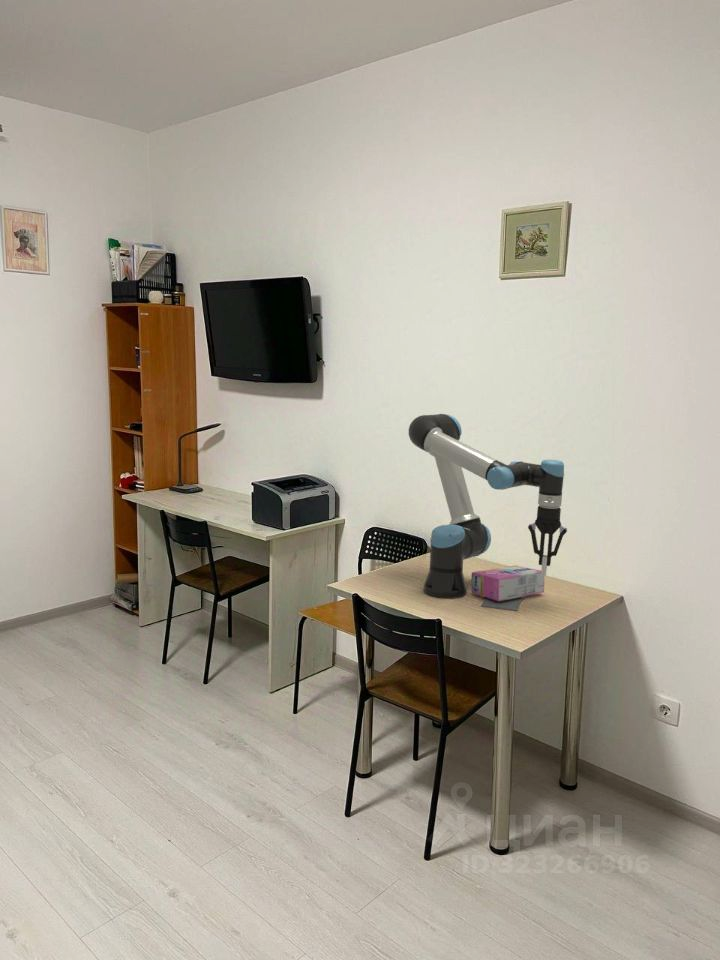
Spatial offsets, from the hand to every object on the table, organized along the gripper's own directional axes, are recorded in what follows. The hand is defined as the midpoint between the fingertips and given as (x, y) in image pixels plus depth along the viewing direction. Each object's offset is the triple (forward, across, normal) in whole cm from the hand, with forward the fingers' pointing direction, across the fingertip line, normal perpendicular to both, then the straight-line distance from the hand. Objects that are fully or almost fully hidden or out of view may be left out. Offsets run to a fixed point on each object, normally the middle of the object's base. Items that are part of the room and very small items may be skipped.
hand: (543, 574), depth 252 cm
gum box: (+6, -7, +2) cm, 9 cm away
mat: (+11, -13, 0) cm, 17 cm away
